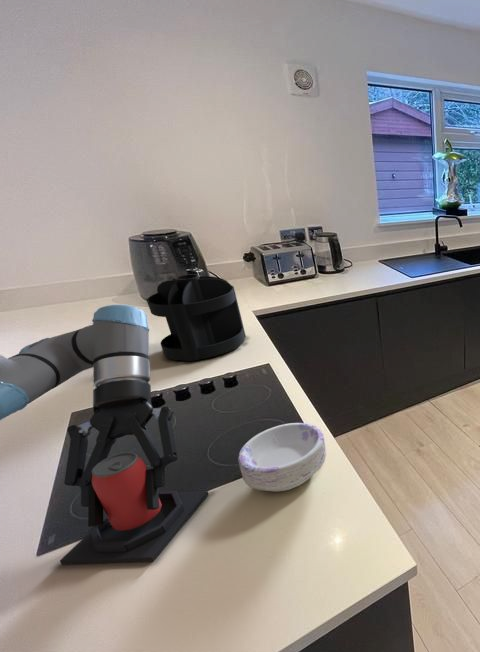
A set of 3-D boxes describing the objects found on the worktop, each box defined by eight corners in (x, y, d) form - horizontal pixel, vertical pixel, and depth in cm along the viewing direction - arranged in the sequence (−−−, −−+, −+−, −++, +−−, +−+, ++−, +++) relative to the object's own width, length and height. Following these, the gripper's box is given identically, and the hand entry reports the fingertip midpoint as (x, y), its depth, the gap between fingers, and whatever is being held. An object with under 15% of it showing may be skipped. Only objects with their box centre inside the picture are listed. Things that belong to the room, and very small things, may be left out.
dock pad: (61, 565, 64) (55, 554, 63) (133, 496, 77) (128, 486, 76) (153, 561, 65) (148, 551, 64) (208, 494, 78) (205, 484, 77)
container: (255, 348, 136) (238, 277, 127) (170, 370, 121) (144, 292, 112) (238, 329, 151) (222, 264, 141) (160, 346, 136) (136, 275, 126)
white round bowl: (343, 456, 89) (338, 427, 86) (294, 510, 75) (286, 478, 72) (285, 444, 92) (278, 416, 89) (227, 494, 78) (217, 462, 75)
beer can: (120, 540, 66) (93, 484, 61) (107, 521, 69) (81, 466, 65) (169, 512, 71) (147, 459, 66) (154, 496, 74) (133, 444, 70)
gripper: (195, 379, 80) (204, 496, 73) (61, 403, 72) (57, 539, 64) (182, 367, 74) (191, 495, 67) (34, 392, 65) (26, 542, 58)
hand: (125, 516), depth 66 cm, fingers closed on beer can, 6 cm apart
